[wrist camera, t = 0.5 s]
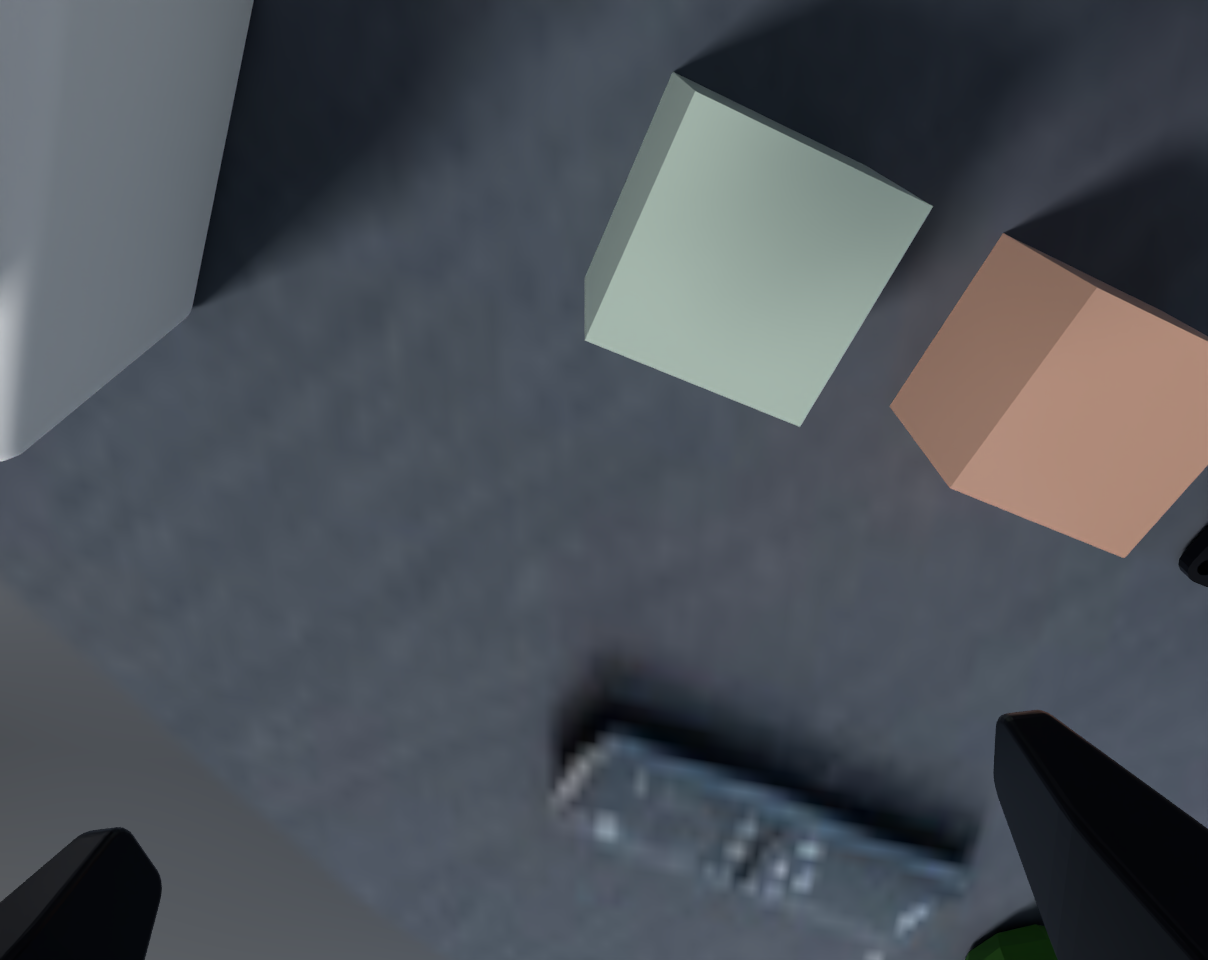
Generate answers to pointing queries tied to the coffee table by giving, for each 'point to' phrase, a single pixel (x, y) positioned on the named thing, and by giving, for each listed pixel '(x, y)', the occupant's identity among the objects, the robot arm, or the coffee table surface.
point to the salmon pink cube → (1061, 400)
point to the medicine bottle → (103, 187)
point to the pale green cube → (743, 253)
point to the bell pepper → (1016, 945)
